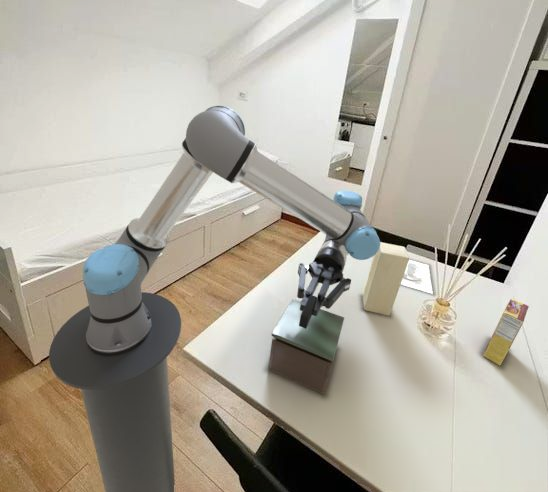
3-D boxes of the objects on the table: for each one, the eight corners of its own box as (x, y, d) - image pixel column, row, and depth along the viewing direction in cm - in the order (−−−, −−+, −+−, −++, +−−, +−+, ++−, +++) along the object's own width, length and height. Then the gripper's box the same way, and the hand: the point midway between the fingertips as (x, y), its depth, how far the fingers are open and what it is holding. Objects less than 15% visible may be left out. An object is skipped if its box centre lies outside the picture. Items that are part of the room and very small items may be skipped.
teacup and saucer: (396, 276, 109) (399, 267, 107) (396, 265, 115) (399, 256, 114) (421, 283, 106) (424, 274, 104) (420, 272, 113) (423, 263, 111)
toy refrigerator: (387, 300, 96) (404, 245, 87) (390, 316, 89) (409, 258, 81) (362, 294, 97) (377, 240, 89) (363, 310, 90) (380, 252, 82)
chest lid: (332, 361, 59) (333, 358, 59) (271, 336, 63) (271, 333, 63) (343, 320, 72) (344, 317, 72) (292, 301, 76) (292, 298, 76)
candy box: (489, 338, 84) (511, 297, 78) (507, 348, 82) (531, 306, 76) (481, 355, 79) (504, 311, 73) (499, 366, 76) (525, 322, 70)
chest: (324, 395, 64) (332, 364, 60) (268, 369, 68) (272, 339, 65) (336, 348, 76) (343, 320, 72) (287, 329, 80) (292, 301, 76)
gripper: (352, 280, 75) (333, 350, 54) (304, 264, 79) (269, 324, 58) (359, 255, 72) (341, 319, 51) (308, 240, 76) (273, 294, 55)
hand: (303, 321), depth 55 cm, fingers closed
